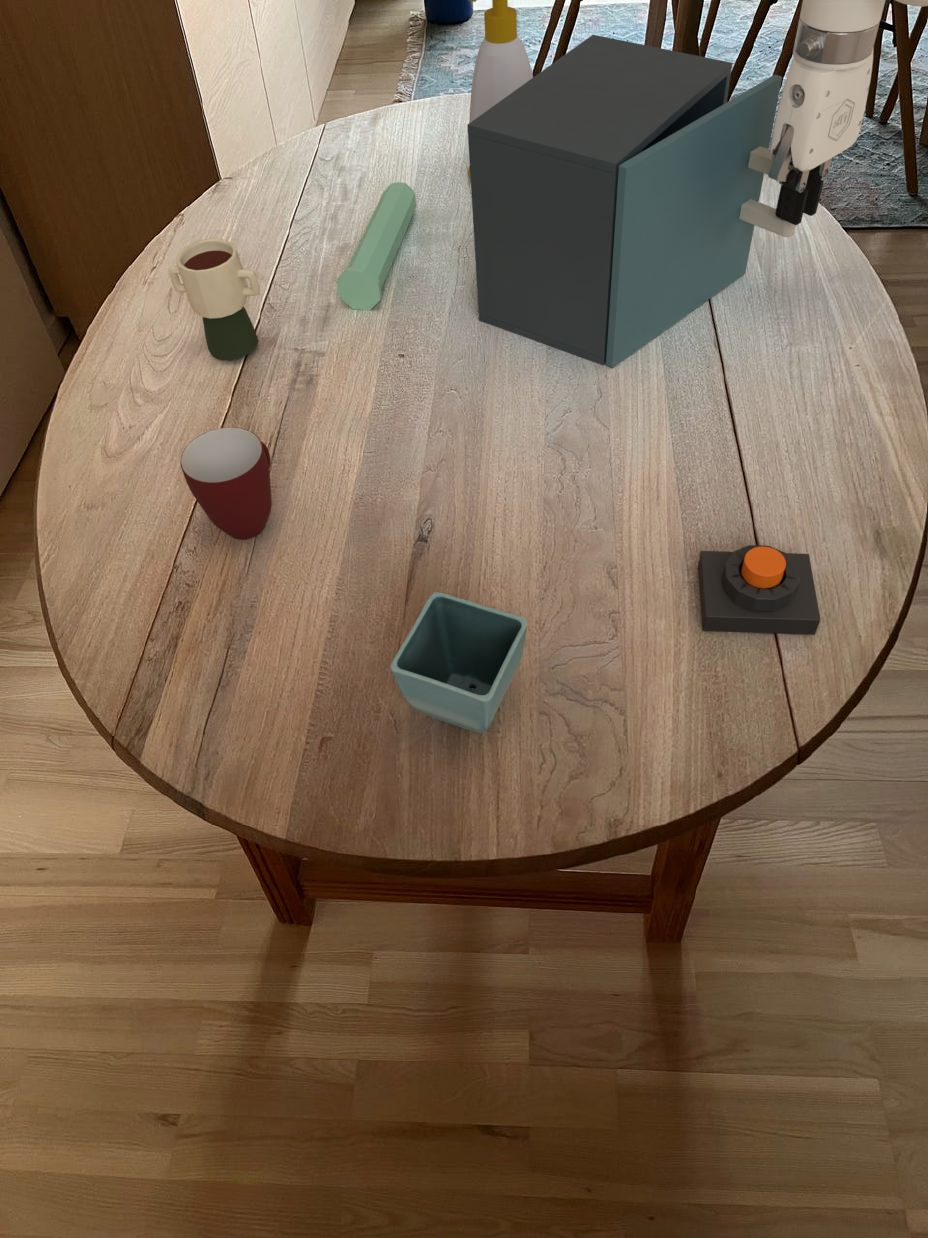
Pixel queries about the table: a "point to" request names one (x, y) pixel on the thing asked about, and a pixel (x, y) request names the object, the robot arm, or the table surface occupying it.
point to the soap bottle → (498, 60)
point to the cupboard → (572, 181)
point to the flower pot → (459, 660)
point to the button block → (756, 596)
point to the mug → (230, 479)
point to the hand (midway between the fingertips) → (795, 214)
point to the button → (763, 567)
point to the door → (690, 217)
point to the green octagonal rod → (377, 248)
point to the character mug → (218, 295)
